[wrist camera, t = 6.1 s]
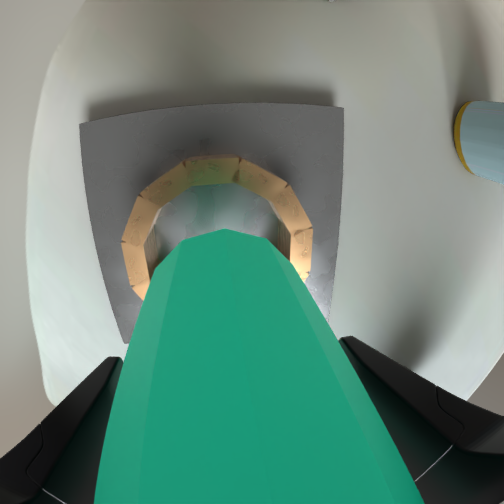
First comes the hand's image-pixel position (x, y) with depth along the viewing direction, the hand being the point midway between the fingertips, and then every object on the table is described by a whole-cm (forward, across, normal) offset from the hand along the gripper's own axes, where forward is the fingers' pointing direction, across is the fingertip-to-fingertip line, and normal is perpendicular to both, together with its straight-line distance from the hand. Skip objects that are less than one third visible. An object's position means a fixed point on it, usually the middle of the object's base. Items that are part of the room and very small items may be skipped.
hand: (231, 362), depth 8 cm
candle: (+4, 0, 0) cm, 4 cm away
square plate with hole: (+12, 0, 0) cm, 12 cm away
